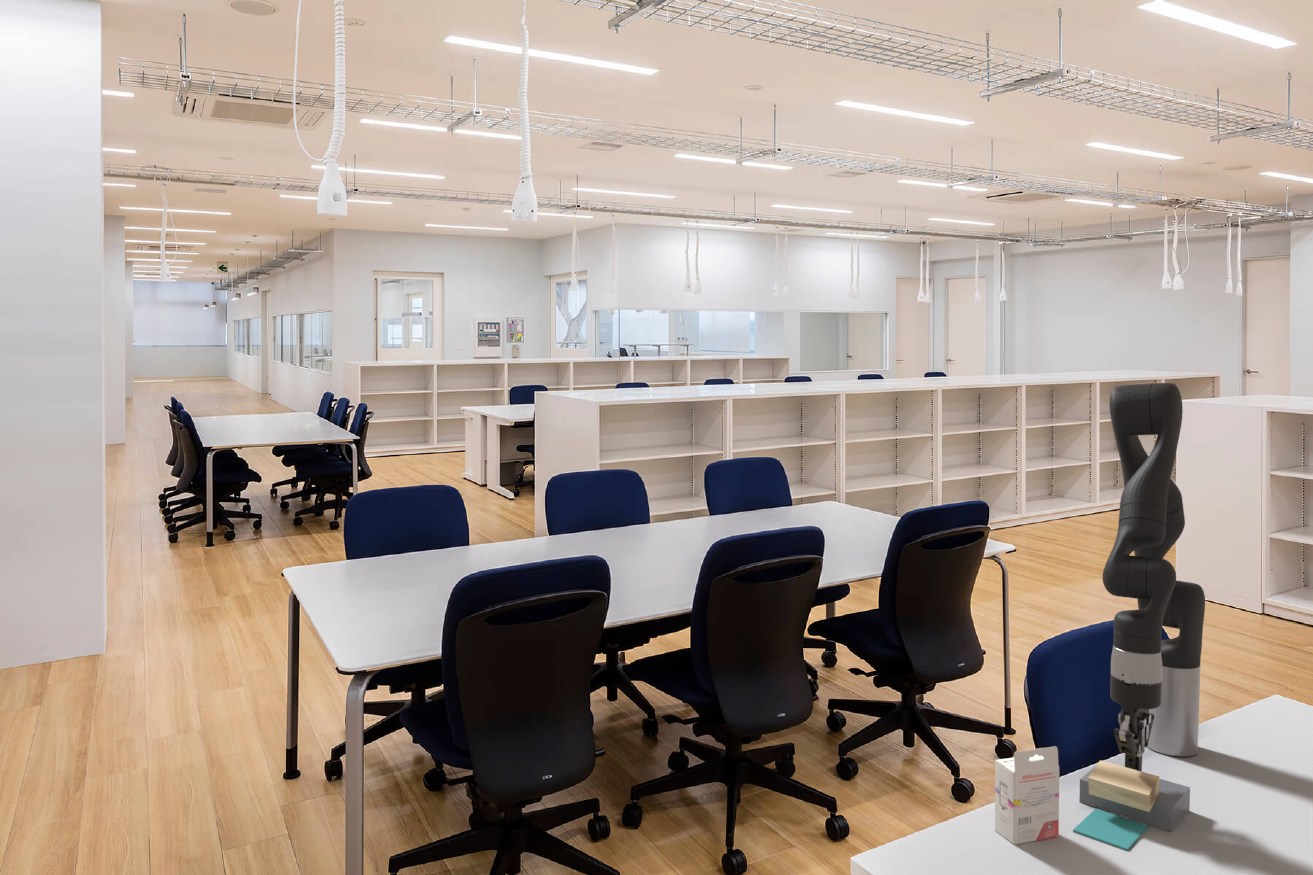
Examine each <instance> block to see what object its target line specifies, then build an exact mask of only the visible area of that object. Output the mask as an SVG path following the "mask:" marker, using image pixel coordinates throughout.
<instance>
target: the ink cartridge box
mask: <svg viewBox="0 0 1313 875" xmlns="http://www.w3.org/2000/svg"><path fill="white" fill-rule="evenodd" d="M994 764H995V765H994V768H995V769H994V793H995V794H994V831H995V832H997V833H998V834H999V835H1000V836H1002V837H1003V838H1005V839H1006V840H1008V842H1010V843H1012V844H1013V845H1020V844H1024V843H1030V842H1036V841H1041V840H1048V839H1054V838H1058V837H1059V833H1060V832H1059V831H1060V830H1059V829H1060V828H1059V826H1060V825H1059V824H1060V823H1059V821H1060V818H1059V817H1060V816H1059V815H1060V765H1059V749H1058V747H1057V746H1056V745H1054V746H1049V747H1039V748H1033V749H1028V750H1027V749H1025V750H1021V751H1015V752H1014V753H1013V757H1009V758H1000V759H995V762H994Z"/></svg>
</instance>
